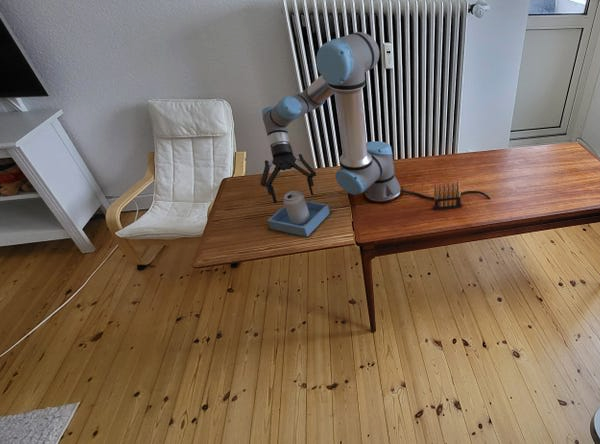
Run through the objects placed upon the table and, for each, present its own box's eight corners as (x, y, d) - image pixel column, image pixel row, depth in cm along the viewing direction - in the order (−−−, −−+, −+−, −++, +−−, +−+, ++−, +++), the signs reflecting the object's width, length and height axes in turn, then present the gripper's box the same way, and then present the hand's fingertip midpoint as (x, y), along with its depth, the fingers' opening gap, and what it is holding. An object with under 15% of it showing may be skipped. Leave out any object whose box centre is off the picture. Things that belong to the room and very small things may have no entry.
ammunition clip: (460, 204, 153) (460, 179, 146) (460, 207, 152) (461, 182, 144) (434, 207, 152) (433, 182, 145) (435, 209, 151) (433, 184, 143)
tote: (330, 212, 151) (327, 204, 148) (307, 236, 139) (304, 228, 137) (295, 206, 155) (292, 198, 152) (270, 228, 143) (267, 220, 141)
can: (293, 215, 150) (284, 190, 142) (312, 213, 150) (304, 188, 143) (288, 226, 144) (279, 201, 136) (308, 225, 144) (300, 199, 137)
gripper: (314, 143, 152) (327, 193, 150) (248, 155, 145) (261, 207, 143) (312, 137, 145) (326, 188, 143) (243, 149, 138) (256, 203, 136)
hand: (293, 198), depth 143 cm, fingers open, 13 cm apart
